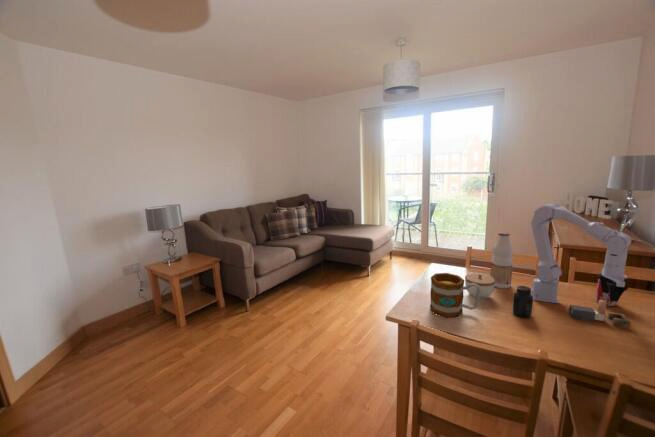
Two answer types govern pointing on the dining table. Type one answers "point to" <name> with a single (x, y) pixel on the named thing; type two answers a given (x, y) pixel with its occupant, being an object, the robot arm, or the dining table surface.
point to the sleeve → (582, 313)
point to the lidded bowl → (480, 284)
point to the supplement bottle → (523, 302)
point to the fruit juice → (502, 261)
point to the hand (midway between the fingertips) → (609, 296)
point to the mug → (449, 295)
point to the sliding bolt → (600, 311)
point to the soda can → (603, 296)
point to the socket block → (619, 320)
